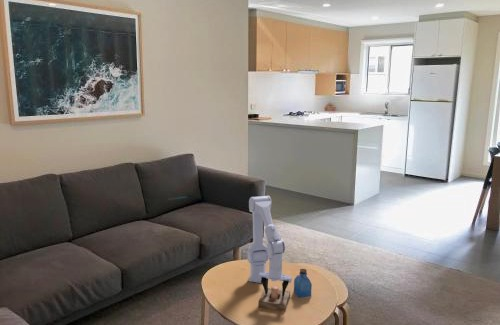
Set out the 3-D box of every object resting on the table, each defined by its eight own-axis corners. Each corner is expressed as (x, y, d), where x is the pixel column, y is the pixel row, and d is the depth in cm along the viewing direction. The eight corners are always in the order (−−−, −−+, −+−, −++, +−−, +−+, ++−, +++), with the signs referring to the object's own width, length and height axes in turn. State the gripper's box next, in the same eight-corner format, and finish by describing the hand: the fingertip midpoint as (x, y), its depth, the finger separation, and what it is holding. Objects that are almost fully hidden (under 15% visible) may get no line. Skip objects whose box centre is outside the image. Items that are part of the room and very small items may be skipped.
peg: (271, 300, 182) (271, 285, 181) (278, 300, 182) (278, 286, 180) (270, 303, 179) (270, 289, 178) (277, 304, 178) (277, 290, 177)
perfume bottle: (298, 298, 184) (299, 274, 182) (293, 291, 190) (294, 268, 188) (311, 296, 186) (312, 272, 184) (305, 289, 192) (306, 266, 189)
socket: (264, 293, 188) (265, 287, 187) (290, 297, 185) (290, 291, 184) (258, 307, 176) (258, 300, 176) (285, 311, 173) (285, 305, 173)
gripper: (257, 268, 175) (257, 296, 178) (290, 272, 171) (289, 301, 174) (261, 261, 182) (260, 288, 184) (292, 265, 178) (291, 293, 181)
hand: (274, 294), depth 180 cm, fingers open, 7 cm apart
